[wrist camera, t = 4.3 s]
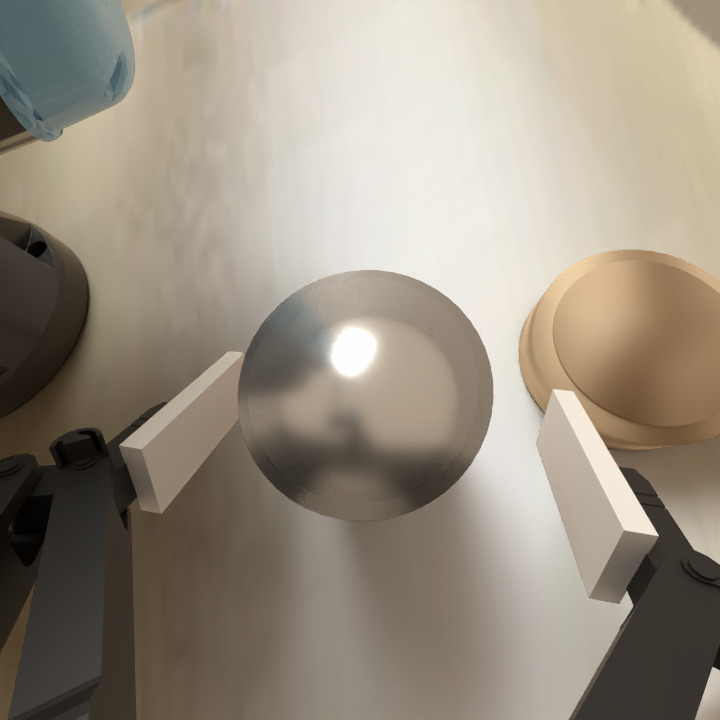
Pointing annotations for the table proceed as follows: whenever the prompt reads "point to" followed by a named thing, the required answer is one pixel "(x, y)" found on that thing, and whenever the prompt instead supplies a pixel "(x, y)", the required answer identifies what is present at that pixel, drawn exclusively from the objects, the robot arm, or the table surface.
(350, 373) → the can
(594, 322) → the stand
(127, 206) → the table surface
